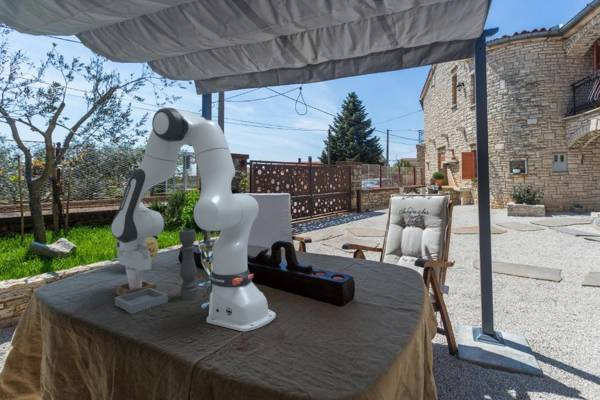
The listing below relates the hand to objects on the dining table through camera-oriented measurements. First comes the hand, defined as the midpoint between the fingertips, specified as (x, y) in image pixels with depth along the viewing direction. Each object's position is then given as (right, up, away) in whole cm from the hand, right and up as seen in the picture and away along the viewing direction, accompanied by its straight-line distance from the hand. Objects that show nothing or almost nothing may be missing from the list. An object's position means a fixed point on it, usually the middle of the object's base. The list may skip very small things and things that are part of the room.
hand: (135, 278), depth 125 cm
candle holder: (+23, -6, -5) cm, 24 cm away
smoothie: (0, -6, 0) cm, 6 cm away
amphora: (-15, -4, +33) cm, 37 cm away
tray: (+8, -6, -11) cm, 15 cm away
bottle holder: (0, -6, 0) cm, 6 cm away
